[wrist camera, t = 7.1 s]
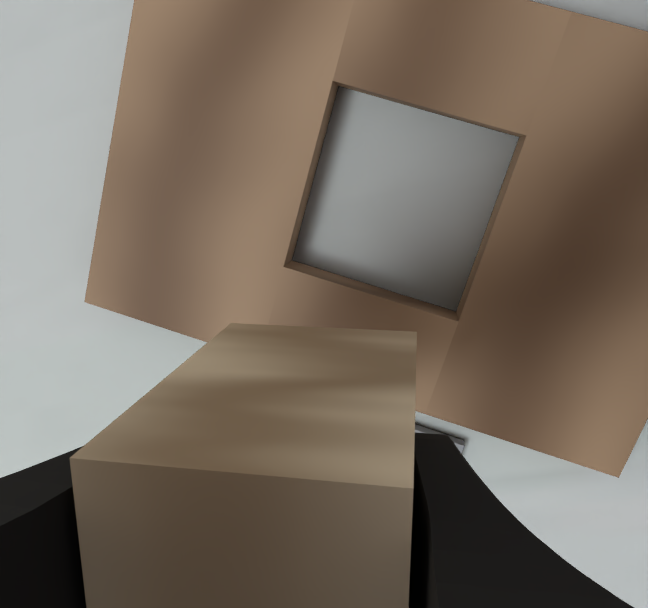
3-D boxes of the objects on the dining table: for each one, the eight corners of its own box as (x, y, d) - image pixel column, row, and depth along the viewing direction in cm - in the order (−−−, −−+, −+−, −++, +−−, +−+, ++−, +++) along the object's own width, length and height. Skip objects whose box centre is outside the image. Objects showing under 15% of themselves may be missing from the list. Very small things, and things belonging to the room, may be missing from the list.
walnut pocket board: (786, 82, 16) (815, 75, 14) (606, 458, 19) (618, 477, 18) (168, -82, 17) (150, -100, 16) (103, 293, 20) (84, 301, 19)
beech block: (416, 332, 12) (414, 488, 6) (410, 503, 13) (401, 779, 7) (231, 323, 13) (69, 457, 7) (237, 488, 13) (100, 729, 8)
